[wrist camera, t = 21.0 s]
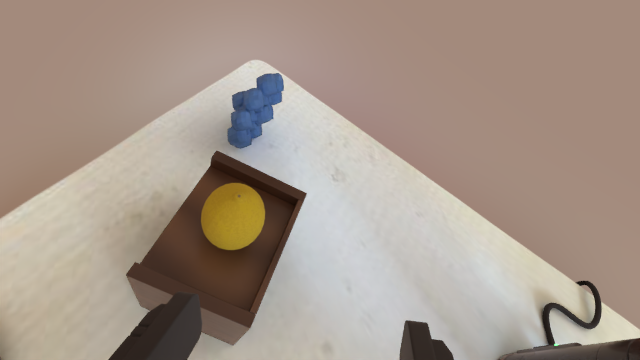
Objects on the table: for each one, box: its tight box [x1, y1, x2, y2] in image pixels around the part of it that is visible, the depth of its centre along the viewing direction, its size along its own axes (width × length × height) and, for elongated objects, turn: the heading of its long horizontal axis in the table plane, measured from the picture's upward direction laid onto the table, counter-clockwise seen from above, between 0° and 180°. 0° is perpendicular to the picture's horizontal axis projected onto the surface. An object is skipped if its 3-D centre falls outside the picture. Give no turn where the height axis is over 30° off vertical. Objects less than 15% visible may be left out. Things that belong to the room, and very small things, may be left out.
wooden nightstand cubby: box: [126, 151, 307, 345], centre depth 36 cm, size 15×11×12 cm
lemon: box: [201, 183, 265, 250], centre depth 29 cm, size 6×6×8 cm
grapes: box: [228, 73, 284, 148], centre depth 48 cm, size 12×7×12 cm, turn 152°
